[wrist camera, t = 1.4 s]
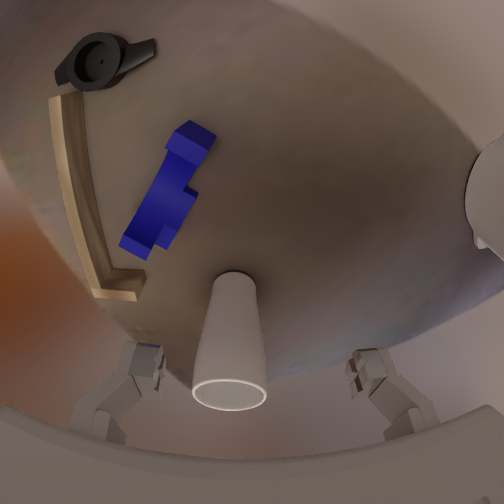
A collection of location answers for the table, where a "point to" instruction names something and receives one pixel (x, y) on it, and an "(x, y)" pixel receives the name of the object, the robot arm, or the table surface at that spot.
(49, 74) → the table surface
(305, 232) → the table surface
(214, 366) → the drinking glass
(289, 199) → the table surface
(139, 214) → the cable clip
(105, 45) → the black winged round fixture
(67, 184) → the bar
